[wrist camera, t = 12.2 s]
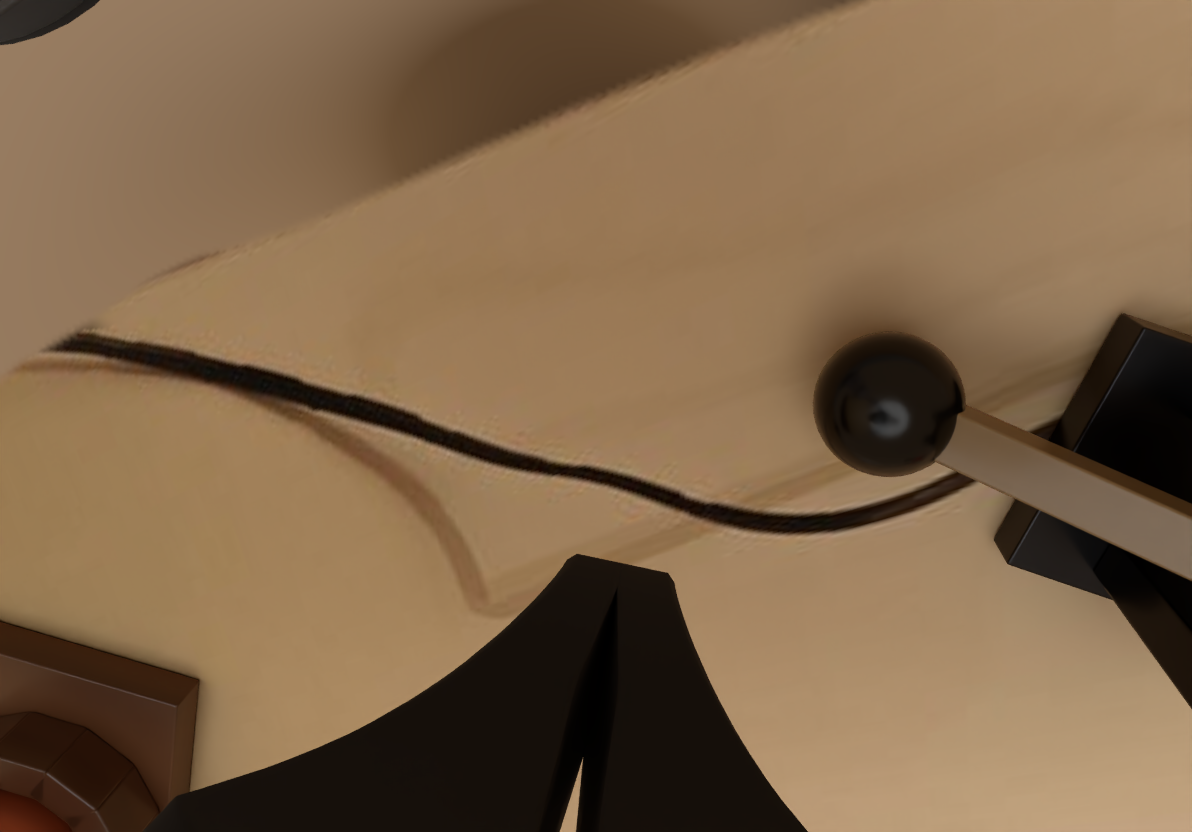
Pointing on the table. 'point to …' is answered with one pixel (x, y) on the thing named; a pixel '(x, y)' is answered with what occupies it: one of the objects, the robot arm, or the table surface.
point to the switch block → (92, 732)
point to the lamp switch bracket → (1139, 450)
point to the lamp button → (27, 815)
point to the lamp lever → (982, 447)
